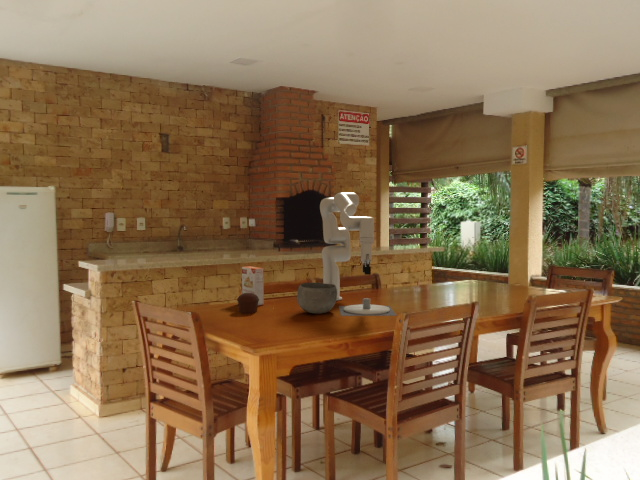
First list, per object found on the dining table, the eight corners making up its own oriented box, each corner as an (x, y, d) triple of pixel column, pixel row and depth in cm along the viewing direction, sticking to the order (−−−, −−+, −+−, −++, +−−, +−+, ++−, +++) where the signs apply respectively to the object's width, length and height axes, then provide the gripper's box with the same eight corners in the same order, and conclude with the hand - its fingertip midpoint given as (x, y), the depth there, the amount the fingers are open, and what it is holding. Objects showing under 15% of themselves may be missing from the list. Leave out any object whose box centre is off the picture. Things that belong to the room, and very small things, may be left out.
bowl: (291, 315, 300) (291, 286, 299) (304, 308, 319) (304, 281, 318) (330, 318, 294) (330, 288, 293) (341, 310, 313) (341, 282, 312)
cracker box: (241, 302, 338) (241, 266, 337) (250, 301, 342) (250, 265, 341) (255, 306, 328) (254, 268, 326) (264, 305, 331) (264, 267, 330)
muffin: (256, 309, 317) (256, 291, 317) (262, 313, 307) (261, 294, 306) (234, 311, 313) (234, 292, 312) (239, 314, 303) (239, 295, 302)
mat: (338, 307, 325) (338, 306, 325) (389, 306, 325) (389, 305, 325) (341, 316, 297) (341, 315, 297) (397, 316, 297) (397, 315, 297)
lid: (342, 306, 323) (342, 295, 322) (386, 306, 323) (386, 295, 323) (345, 315, 299) (345, 302, 298) (392, 314, 299) (392, 302, 299)
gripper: (358, 239, 317) (358, 271, 318) (361, 241, 300) (360, 275, 301) (372, 239, 317) (372, 271, 318) (375, 241, 300) (375, 275, 301)
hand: (366, 273), depth 310 cm, fingers open, 9 cm apart
